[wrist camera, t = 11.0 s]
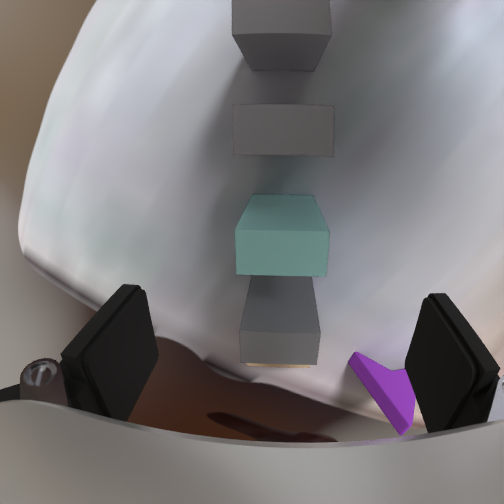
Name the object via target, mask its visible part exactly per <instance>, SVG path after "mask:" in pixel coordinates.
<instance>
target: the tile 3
mask: <svg viewBox="0 0 504 504" xmlns="http://www.w3.org/2000/svg"><path fill="white" fill-rule="evenodd" d="M320 335H321V332H320V326H319V319H318V313H317V306H316V300H315V294H314V288H313V282H312V276H273V275H252V277H251V282H250V286H249V290H248V295H247V299H246V304H245V308H244V312H243V317H242V321H241V326H240V330H239V338H240V361H241V363H258V364H286V365H316V364H317V357H318V350H319V343H320Z"/></svg>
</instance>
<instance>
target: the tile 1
mask: <svg viewBox="0 0 504 504" xmlns="http://www.w3.org/2000/svg"><path fill="white" fill-rule="evenodd" d="M232 36H233V37H234V39H235V41H236V43H237V45H238V46H239V48H240V50H241V52H242V54H243V56H244V58H245V59H246V61H247V63H248V65H249V67H250V69H251V71H262V70H289V71H314V70H315V68H316V66H317V64H318V62H319V60H320V58H321V56H322V54H323V52H324V50H325V48H326V46H327V44H328V42H329V40H330V38H331V36H332V30H331V15H330V3H329V0H232Z"/></svg>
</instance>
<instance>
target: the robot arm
mask: <svg viewBox="0 0 504 504" xmlns="http://www.w3.org/2000/svg"><path fill="white" fill-rule="evenodd" d="M61 356H62V360H61V362H60V363H59V362H57V361H56V360H54V359H52V358H42V359H38V360H35V361H33V362H32V363H30V364H28V365H27V366H26V367H25V368H24V369H23V371H22V373H21V375H20V384H17V385H14V386H11V387H7V388H4V389H1V390H0V504H504V375H503V376H502V377H501V378H500V377H499V376H498V372H499V370H500V367H499V366H498V364H497V363H496V361H495V360H494V358H493V357H492V355H491V354H490V352H489V351H488V349H487V348H486V346H485V345H484V344H483V342H482V341H481V339H480V338H479V337H478V335H477V334H476V332H475V331H474V330H473V328H472V327H471V326H470V324H469V323H468V322H467V320H466V319H465V318H464V316H463V315H462V314H461V312H460V311H459V310H458V308H457V307H456V306H455V305H454V303H453V302H452V301H451V299H450V298H449V297H448V296H447V295H446V294H445V293H430V294H429V295H428V297H427V298H424V300H423V302H422V306H421V310H420V313H419V317H418V321H417V324H416V328H415V331H414V334H413V338H412V341H411V344H410V347H409V350H408V353H407V356H406V359H405V370H406V372H407V375H408V378H409V380H410V383H411V386H412V388H413V391H414V394H415V397H416V399H417V402H418V405H419V408H420V411H421V413H422V416H423V419H424V422H425V425H426V428H427V431H428V433H427V434H420V435H414V436H406V437H399V438H390V439H381V440H369V441H356V442H335V443H279V442H259V441H244V440H233V439H223V438H215V437H207V436H199V435H191V434H186V433H179V432H173V431H167V430H162V429H157V428H152V427H147V426H143V425H138V424H134V423H129V422H127V420H128V418H129V416H130V414H131V412H132V410H133V408H134V406H135V404H136V402H137V400H138V398H139V396H140V394H141V392H142V390H143V388H144V386H145V384H146V382H147V380H148V378H149V376H150V374H151V372H152V370H153V368H154V366H155V364H156V363H157V360H158V348H157V345H156V340H155V335H154V331H153V326H152V321H151V316H150V311H149V306H148V301H147V296H146V292H145V290H142V289H141V287H140V286H139V285H129V284H123V285H122V286H121V287H120V288H119V289H118V290H117V291H116V292H115V293H114V294H113V295H112V296H111V297H110V299H109V300H108V301H107V302H106V303H105V304H104V305H103V306H102V307H101V308H100V309H99V311H98V312H97V313H96V314H95V315H94V316H93V317H92V318H91V320H90V321H89V322H88V323H87V324H86V325H85V326H84V327H83V328H82V330H81V331H80V332H79V333H78V334H77V335H76V336H75V338H74V339H73V340H72V341H71V342H70V343H69V345H68V346H67V347H66V348H65V349H64V350H63V352H62V353H61Z"/></svg>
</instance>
